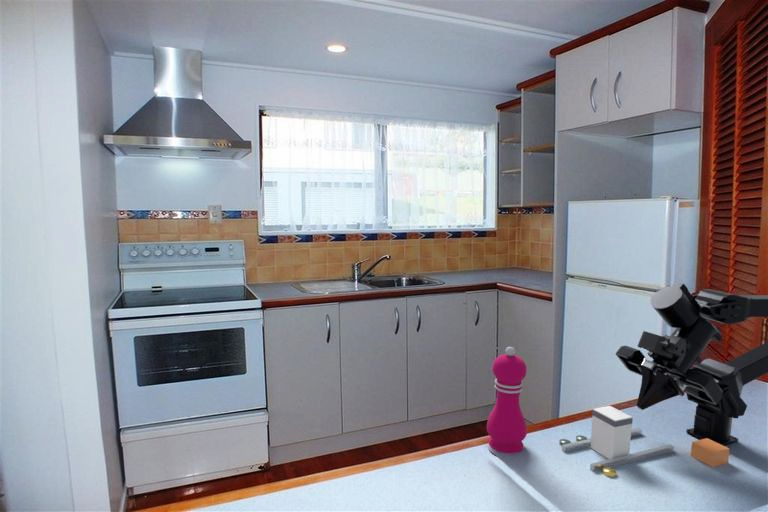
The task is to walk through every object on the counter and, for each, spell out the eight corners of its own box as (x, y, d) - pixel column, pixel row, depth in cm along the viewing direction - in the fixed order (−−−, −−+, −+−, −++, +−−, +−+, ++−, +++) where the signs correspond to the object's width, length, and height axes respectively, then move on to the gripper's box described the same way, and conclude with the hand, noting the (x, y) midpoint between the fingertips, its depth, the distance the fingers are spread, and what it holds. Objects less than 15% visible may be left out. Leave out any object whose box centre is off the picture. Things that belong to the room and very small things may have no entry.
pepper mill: (527, 463, 87) (533, 354, 85) (485, 458, 89) (490, 351, 86) (524, 443, 94) (529, 342, 92) (485, 439, 96) (489, 339, 93)
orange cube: (705, 458, 90) (707, 438, 90) (727, 470, 86) (729, 448, 86) (689, 462, 89) (691, 441, 88) (711, 474, 85) (714, 452, 84)
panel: (626, 430, 100) (627, 420, 100) (691, 466, 87) (692, 454, 87) (547, 448, 93) (547, 437, 92) (605, 489, 80) (606, 477, 80)
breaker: (606, 443, 92) (609, 405, 91) (629, 457, 87) (632, 417, 87) (590, 447, 91) (592, 408, 90) (612, 461, 86) (615, 420, 85)
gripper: (625, 306, 99) (579, 365, 96) (717, 329, 82) (665, 402, 79) (650, 340, 103) (607, 398, 100) (744, 369, 86) (694, 440, 83)
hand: (639, 407), depth 91 cm, fingers closed
